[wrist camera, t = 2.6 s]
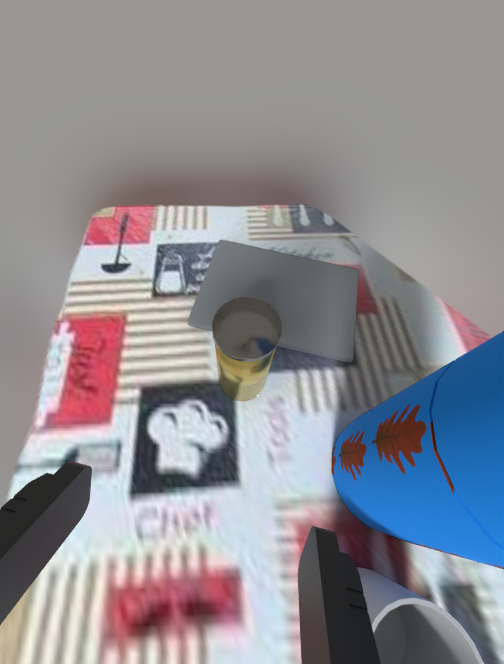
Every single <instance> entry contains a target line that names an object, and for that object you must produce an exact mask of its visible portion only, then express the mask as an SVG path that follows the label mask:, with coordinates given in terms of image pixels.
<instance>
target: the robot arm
mask: <svg viewBox="0 0 504 664" xmlns="http://www.w3.org/2000/svg"><path fill="white" fill-rule="evenodd" d="M91 474H92V468H91V467H90V466H87V465H83V464H80V463H76V462H72V461H69V462H67V463H65V464H64V465H63V466H62V467H61V468H60V469H59V470H58V471H57V472H56V473H55V474H54V475H53V474H49V473H46V474H44V475H42V476H40V477H39V478H37V479H35V480H33V481H31V482H29V483H28V484H27V485H26V486H25V487H24V488H22V489H21V490H20V491H19V492H18V493H17V494H16V495H15V496H14V498H13V499H10V500H9V501H8V502H7V503H6V504H5V505H4V506H2V508H1V510H0V625H1V623H2V622H3V621H4V619H5V618H6V617H7V615H8V614H9V613H10V611H11V610H12V609H13V607H14V606H15V605H16V604H17V602H18V601H19V600H20V598H21V597H22V596H23V594H24V593H25V592H26V590H27V589H28V588H29V587H30V585H31V584H32V583H33V581H34V580H35V579H36V577H37V576H38V575H39V573H40V572H41V571H42V570H43V568H44V567H45V566H46V564H47V563H48V562H49V560H50V559H51V558H52V556H53V555H54V554H55V552H56V551H57V550H58V549H59V547H60V546H61V545H62V543H63V542H64V541H65V539H66V538H67V537H68V535H69V534H70V533H71V532H72V530H73V529H74V528H75V526H76V525H77V524H78V522H79V521H80V520H81V518H82V517H83V515H84V513H85V511H86V509H87V507H88V504H89V500H90V488H91ZM298 590H299V612H300V635H301V658H302V664H381V663H380V659H379V654H378V650H377V646H376V642H375V638H374V633H373V629H372V625H371V621H370V616H369V613H368V611H367V610H368V608H367V604H366V600H365V596H364V591H363V587H362V583H361V578H360V574H359V572H358V570H357V568H356V566H355V564H354V563H353V561H352V559H351V557H350V555H349V554H345V553H341V552H339V548H338V543H337V538H336V534H335V532H334V531H330V530H326V529H322V528H319V527H315V526H312V527H311V529H310V532H309V535H308V537H307V540H306V543H305V546H304V549H303V552H302V555H301V558H300V562H299V569H298Z"/></svg>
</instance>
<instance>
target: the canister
mask: <svg viewBox="0 0 504 664" xmlns="http://www.w3.org/2000/svg"><path fill="white" fill-rule="evenodd" d="M212 332H213V338H214V341H215V348H216V357H217V367H218V376H219V384H220V387H221V389H222V391H223V392H224V393H225V395H227V396H228V397H229V398H231V399H233V400H236V401H248V400H251V399H253V398H255V397H256V396H258V395H259V394H260V392H261V391H262V389H263V387H264V384H265V381H266V378H267V374H268V371H269V368H270V365H271V362H272V358H273V355H274V352H275V349H276V347H277V345H278V343H279V340H280V337H281V334H282V323H281V319H280V317H279V315H278V313H277V312H276V310H275V309H274V308H273V307H272V306H271V305H269V304H268V303H267V302H265V301H263V300H260V299H257V298H253V297H239V298H235V299H232V300H230V301H228V302H226V303H225V304H223V305H222V306H221V307H220V308H219V309H218V310H217V312H216V313H215V316H214V318H213V322H212Z"/></svg>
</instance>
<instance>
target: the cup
mask: <svg viewBox="0 0 504 664" xmlns="http://www.w3.org/2000/svg"><path fill="white" fill-rule="evenodd" d="M357 570H358V572H359V574H360V578H361V583H362V587H363V591H364V596H365V600H366V604H367V608H368V610H367V611H368V613H369V616H370V621H371V625H372V629H373V633H374V638H375V642H376V646H377V650H378V654H379V659H380V663H381V664H484V663H483V661H482V659H481V657H480V655H479V652H478V650H477V648H476V646H475V644H474V642H473V641H472V640H471V638H470V637H469V636H468V634H467V633H466V631H465V630H464V629H463V627H462V626H461V625H460V624H459V623H458V622H457V621H456V620H455V619H454V618H453V617H452V616H451V615H450V614H449V613H448V612H447V611H445V610H444V609H442V608H440V607H439V606H437V605H435V604H433V603H432V602H430V601H428V600H426V599H424V598H423V597H421V596H419V595H417V594H415V593H413V592H412V591H410V590H408V589H406V588H404V587H403V586H401V585H399V584H397V583H395V582H393V581H392V580H390V579H388V578H386V577H384V576H382V575H381V574H379V573H377V572H375V571H373V570H369V569H365V568H361V567H358V568H357Z"/></svg>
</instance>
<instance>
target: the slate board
mask: <svg viewBox="0 0 504 664" xmlns="http://www.w3.org/2000/svg"><path fill="white" fill-rule="evenodd" d="M358 276H359V270H357V269H353V268H348V267H343V266H339V265H334V264H329V263H325V262H320V261H316V260H311V259H306V258H302V257H297V256H293V255H288V254H283V253H279V252H274V251H269V250H265V249H260V248H256V247H251V246H246V245H242V244H237V243H233V242H228V241H223V240H219V243H218V245H217V248H216V250H215V253H214V256H213V258H212V261H211V263H210V266H209V268H208V271H207V273H206V276H205V278H204V281H203V283H202V286H201V288H200V291H199V293H198V296H197V298H196V301H195V303H194V306H193V308H192V311H191V314H190V316H189V319H188V325H189V326H193V327H197V328H202V329H206V330H210V331H212V322H213V318H214V316H215V313H216V312H217V310H218V309H219V308H220V307H221V306H222V305H223V304H225V303H226V302H228V301H230V300H232V299H235V298H239V297H253V298H257V299H260V300H263V301H265V302H267V303H268V304H269V305H271V306H272V307H273V308H274V309H275V310H276V312H277V313H278V315H279V317H280V319H281V323H282V334H281V337H280V340H279V343H278V345H277V346H279V347H283V348H287V349H291V350H296V351H300V352H304V353H308V354H313V355H317V356H321V357H326V358H330V359H334V360H338V361H343V362H347V363H351V362H352V361H353V354H354V338H355V323H356V307H357V292H358Z"/></svg>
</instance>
